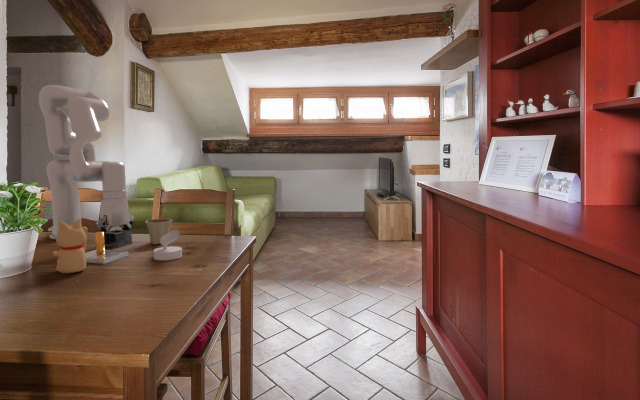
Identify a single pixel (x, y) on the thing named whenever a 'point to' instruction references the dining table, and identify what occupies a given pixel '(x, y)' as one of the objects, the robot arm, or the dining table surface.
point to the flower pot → (158, 229)
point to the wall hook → (165, 251)
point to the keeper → (103, 252)
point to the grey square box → (120, 238)
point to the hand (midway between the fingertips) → (117, 241)
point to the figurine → (71, 247)
